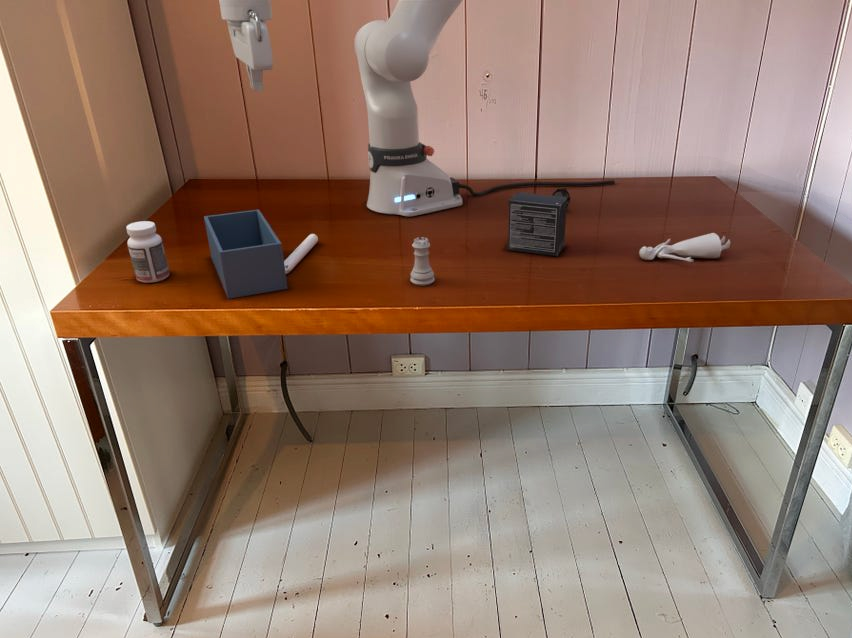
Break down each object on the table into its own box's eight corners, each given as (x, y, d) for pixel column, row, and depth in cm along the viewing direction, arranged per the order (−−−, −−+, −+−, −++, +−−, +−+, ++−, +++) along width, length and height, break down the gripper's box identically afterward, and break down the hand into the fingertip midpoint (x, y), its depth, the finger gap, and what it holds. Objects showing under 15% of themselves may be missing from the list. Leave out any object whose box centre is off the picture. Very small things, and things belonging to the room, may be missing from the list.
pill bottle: (166, 269, 135) (154, 217, 130) (173, 279, 131) (161, 227, 126) (133, 275, 132) (120, 223, 127) (139, 286, 128) (126, 233, 123)
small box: (565, 246, 147) (569, 195, 142) (557, 257, 142) (561, 205, 136) (515, 239, 150) (517, 190, 145) (506, 250, 145) (507, 199, 139)
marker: (287, 278, 132) (285, 266, 131) (276, 277, 132) (274, 265, 131) (318, 243, 147) (317, 232, 146) (309, 243, 147) (307, 232, 146)
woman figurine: (742, 243, 136) (650, 254, 134) (739, 264, 139) (649, 276, 137) (715, 222, 146) (629, 232, 144) (712, 243, 148) (628, 253, 147)
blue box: (265, 250, 143) (259, 209, 139) (287, 288, 128) (281, 243, 123) (211, 258, 140) (203, 216, 135) (228, 298, 124) (219, 252, 120)
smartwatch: (568, 207, 169) (569, 186, 167) (569, 214, 165) (571, 192, 162) (550, 206, 169) (551, 185, 167) (551, 213, 165) (553, 192, 162)
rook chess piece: (414, 288, 128) (413, 245, 124) (406, 278, 132) (404, 237, 128) (438, 284, 130) (437, 242, 126) (429, 275, 133) (428, 233, 129)
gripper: (276, 12, 122) (286, 98, 129) (253, 4, 138) (264, 81, 145) (237, 13, 120) (250, 100, 127) (219, 5, 136) (231, 83, 143)
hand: (257, 90), depth 136 cm, fingers closed
